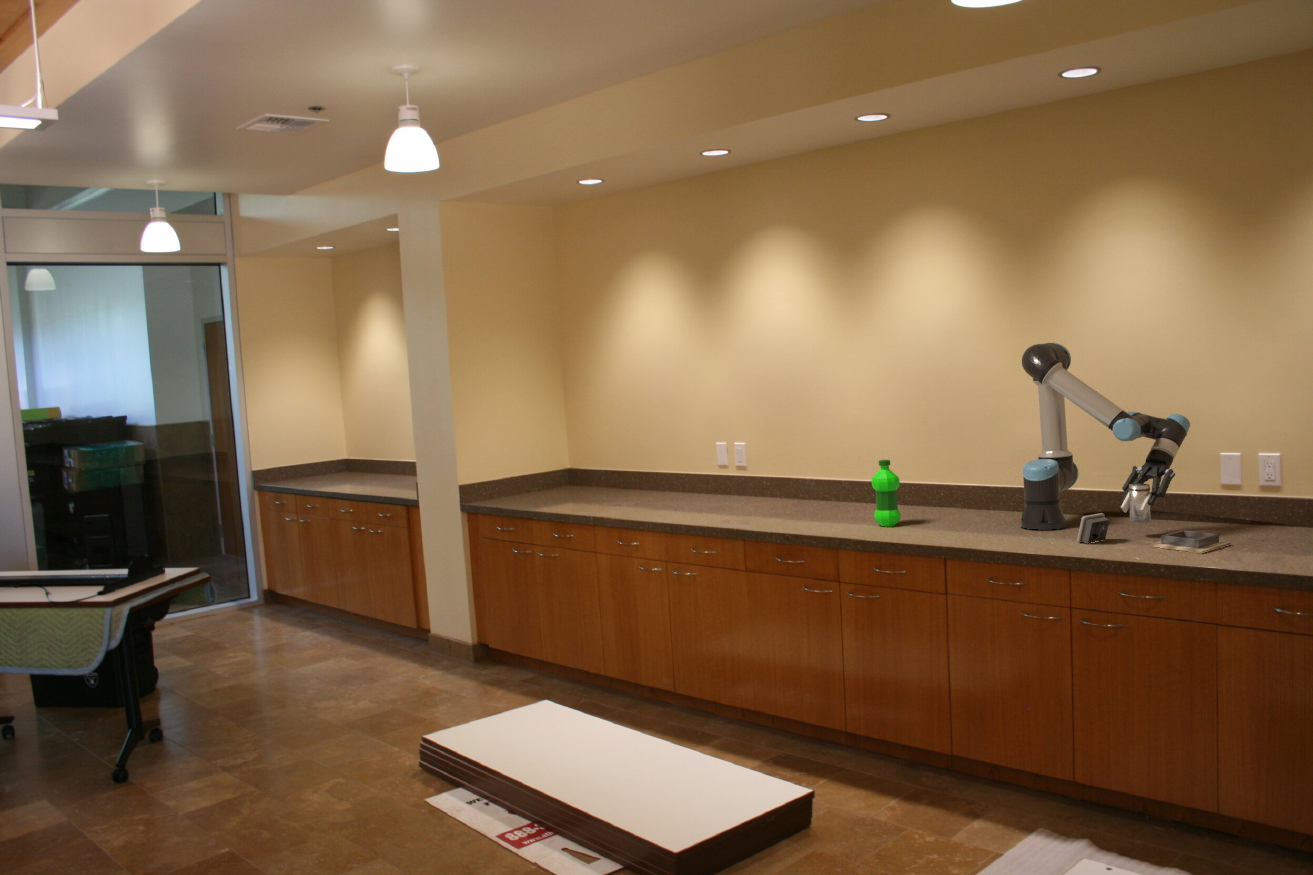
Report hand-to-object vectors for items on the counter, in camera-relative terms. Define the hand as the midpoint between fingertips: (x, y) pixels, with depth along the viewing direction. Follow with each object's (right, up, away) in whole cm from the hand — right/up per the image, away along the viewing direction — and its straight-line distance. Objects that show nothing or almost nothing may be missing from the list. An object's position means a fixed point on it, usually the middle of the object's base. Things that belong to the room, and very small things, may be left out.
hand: (1133, 510), depth 310 cm
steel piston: (+3, -4, +2) cm, 5 cm away
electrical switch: (-12, -10, 0) cm, 16 cm away
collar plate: (+10, -10, -15) cm, 21 cm away
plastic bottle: (-66, -10, +54) cm, 86 cm away
